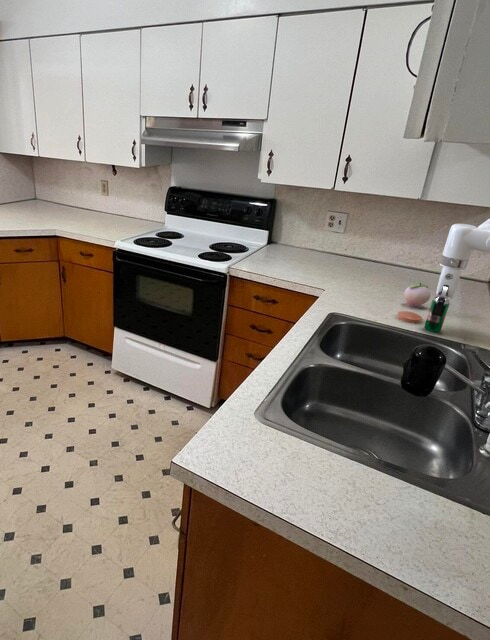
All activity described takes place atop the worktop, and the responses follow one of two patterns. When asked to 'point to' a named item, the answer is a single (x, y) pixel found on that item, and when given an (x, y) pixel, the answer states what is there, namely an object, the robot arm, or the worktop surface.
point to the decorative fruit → (417, 294)
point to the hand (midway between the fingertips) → (437, 311)
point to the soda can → (435, 318)
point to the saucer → (409, 317)
